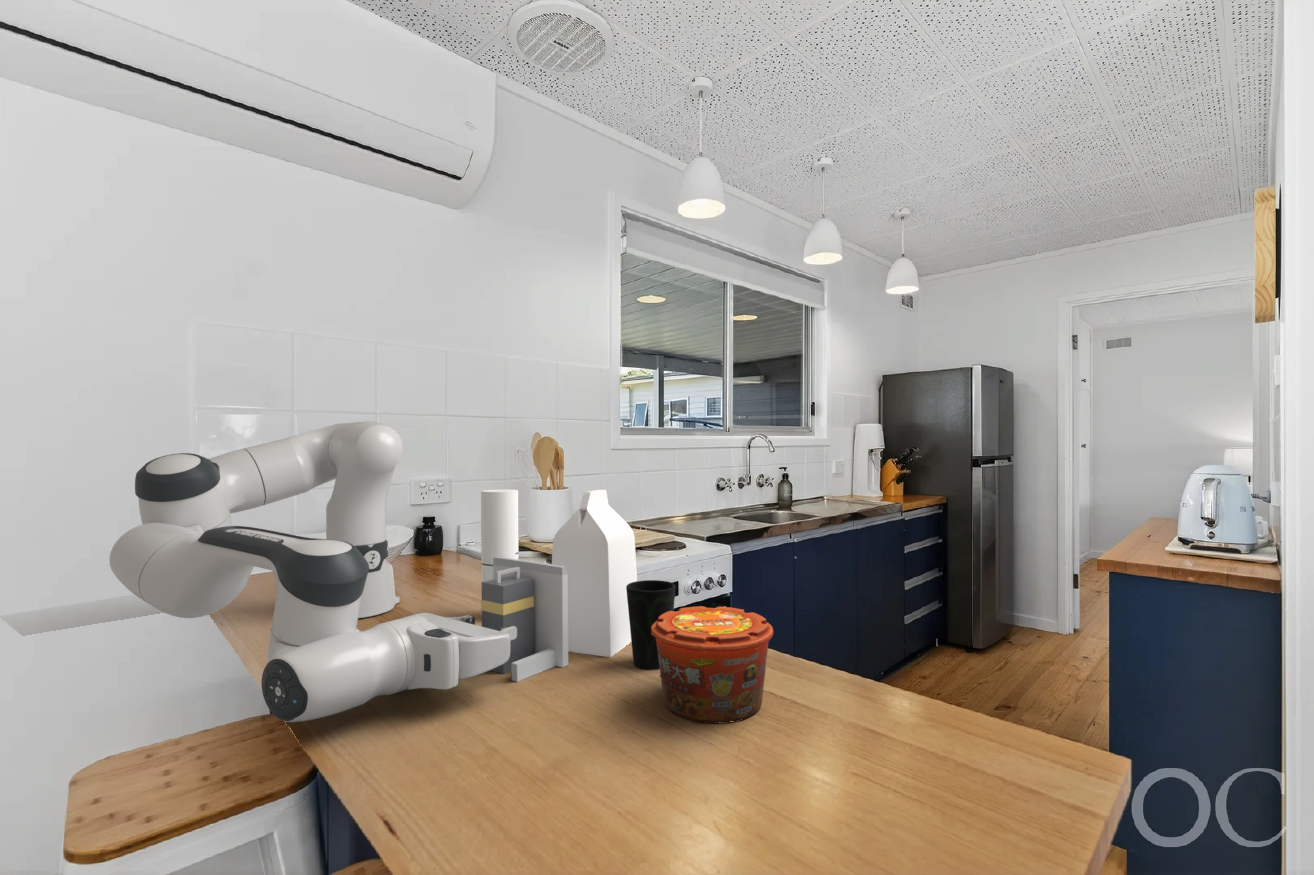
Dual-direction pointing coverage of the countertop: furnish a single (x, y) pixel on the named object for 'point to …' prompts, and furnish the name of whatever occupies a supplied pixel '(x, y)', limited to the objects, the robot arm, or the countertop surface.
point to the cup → (647, 617)
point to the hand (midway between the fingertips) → (492, 626)
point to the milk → (596, 575)
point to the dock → (542, 615)
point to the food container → (712, 662)
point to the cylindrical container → (498, 528)
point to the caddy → (510, 612)
